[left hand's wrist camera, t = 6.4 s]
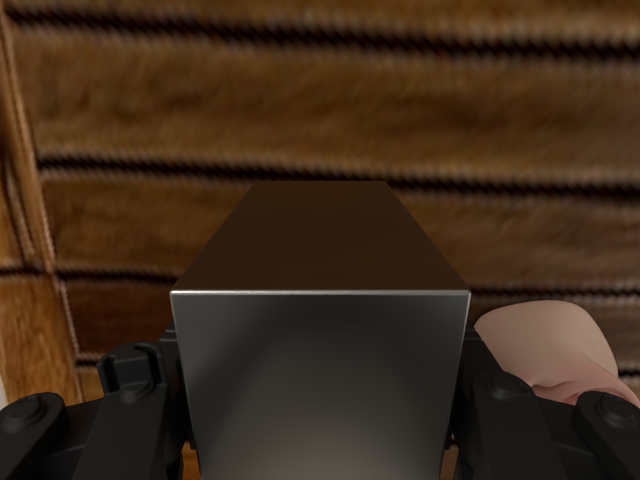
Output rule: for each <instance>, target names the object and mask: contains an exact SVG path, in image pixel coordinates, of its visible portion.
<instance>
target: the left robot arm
mask: <svg viewBox="0 0 640 480" xmlns="http://www.w3.org/2000/svg"><path fill="white" fill-rule="evenodd" d="M96 366H97V370H98V374H99V377H100V381H101V384H102V388H103V392H104V397H103V398H100V399H96V400H93V401H89V402H84V403H80V404H76V405H71V406H67V407H66V406H65V403H64V400H63V398H62V397H61V396H60V395H58V394H57V393H51V392H43V393H36V394H32V395H29V396H26V397H24V398H21V399H19V400H17V401H15V402H13V403H11V404H9V405H8V406H6V407H4V408H3V409H2V410H1V411H0V480H182V477H183V467H184V464H183V457H182V452H181V451H182V448H183V446H184V443H185V441H186V438H187V435H188V436H189V442H190V447H191V450H196V447H195V441H194V435H193V429H192V423H191V418H190V412H189V406H188V400H187V394H186V388H185V383H184V377H183V371H182V365H181V359H180V353H179V347H178V342H177V336H176V330H175V324H174V319H172V321H171V322H170V324H169V325H168V327H167V328H166V330H165V332H164V333H163V334H162V336H161V337H160V339H159V342H157V343H153V342H149V341H136V342H132V343H127V344H124V345H121V346H119V347H117V348H115V349H112V350H111V351H110V352H108V353H107V354H105V355H104V356H103V357H102V358H101V359H100V360H99V362H98V363H97V364H96ZM452 433H453V436H454V438H455V441H456V443H457V446H458V448H459V452H458V457H457V462H456V467H455V473H454V478H453V480H640V408H639V407H637V406H636V405H634V404H633V403H631V402H629V401H627V400H625V399H623V398H621V397H619V396H616V395H613V394H610V393H607V392H601V391H594V390H593V391H587V392H583V393H582V394H581V395H579V396H578V398H577V401H576V404H575V405H571V404H567V403H563V402H558V401H554V400H550V399H546V398H542V397H539V396H536V394H535V393H534V391H533V390H532V388H531V387H530V386H529V385H528V384H527V383H526V382H525V381H523V380H522V379H521V378H519V377H517V376H515V375H513V374H511V373H509V372H505V371H503V369H502V368H501V366H500V365H499V363H498V362H497V360H496V359H495V357H494V356H493V354H492V353H491V352H490V350H489V349H488V347H487V346H486V344H485V343H484V341H483V340H481V337H480V335H479V334H478V332H477V331H475V328H474V326H473V325H472V323H471V322H470V320H469V319H468V318H467V321H466V327H465V333H464V338H463V344H462V350H461V356H460V362H459V368H458V373H457V379H456V385H455V391H454V397H453V402H452V408H451V414H450V420H449V426H448V432H447V437H446V443H445V449H444V450H449V449H450V443H451V437H452Z"/></svg>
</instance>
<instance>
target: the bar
mask: <svg viewBox="0 0 640 480" xmlns="http://www.w3.org/2000/svg"><path fill="white" fill-rule="evenodd" d="M169 295H170V301H171V307H172V312H173V318H174V324H175V330H176V336H177V342H178V347H179V353H180V359H181V365H182V371H183V377H184V383H185V388H186V394H187V400H188V406H189V412H190V418H191V423H192V429H193V435H194V441H195V447H196V453H197V458H198V464H199V470H200V476H201V480H439V478H440V472H441V466H442V461H443V455H444V449H445V443H446V437H447V432H448V426H449V420H450V414H451V408H452V402H453V397H454V391H455V385H456V379H457V373H458V368H459V362H460V356H461V350H462V344H463V338H464V333H465V327H466V321H467V315H468V309H469V304H470V298H471V291H470V289H469V288H468V286H467V285H466V284H465V283H464V281H463V280H462V279H461V277H460V276H459V275H458V274H457V272H456V271H455V270H454V269H453V267H452V266H451V265H450V263H449V262H448V261H447V260H446V258H445V257H444V256H443V255H442V253H441V252H440V251H439V249H438V248H437V247H436V246H435V244H434V243H433V242H432V241H431V239H430V238H429V237H428V235H427V234H426V233H425V232H424V230H423V229H422V228H421V226H420V225H419V224H418V223H417V221H416V220H415V219H414V218H413V216H412V215H411V214H410V212H409V211H408V210H407V209H406V207H405V206H404V205H403V204H402V202H401V201H400V200H399V198H398V197H397V196H396V195H395V193H394V192H393V191H392V189H391V188H390V187H389V186H388V184H387V183H386V182H385V181H255V182H254V183H253V185H252V186H251V187H250V189H249V190H248V191H247V192H246V194H245V195H244V196H243V197H242V199H241V200H240V201H239V203H238V204H237V205H236V206H235V208H234V209H233V210H232V212H231V213H230V214H229V215H228V217H227V218H226V219H225V220H224V222H223V223H222V224H221V226H220V227H219V228H218V229H217V231H216V232H215V233H214V235H213V236H212V237H211V238H210V240H209V241H208V242H207V244H206V245H205V246H204V247H203V249H202V250H201V251H200V252H199V254H198V255H197V256H196V258H195V259H194V260H193V261H192V263H191V264H190V265H189V267H188V268H187V269H186V270H185V272H184V273H183V274H182V275H181V277H180V278H179V279H178V281H177V282H176V283H175V284H174V286H173V287H172V288H171V290H170V293H169Z"/></svg>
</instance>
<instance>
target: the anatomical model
mask: <svg viewBox="0 0 640 480" xmlns="http://www.w3.org/2000/svg"><path fill="white" fill-rule="evenodd" d="M474 328H475V331H477V332H478V334H479V335H480V337H481V340H483V341H484V343H485V344H486V346H487V347H488V349H489V350H490V352H491V353H492V354H493V356H494V357H495V359H496V360H497V362H498V363H499V365H500V366H501V368H502V369H503V371H505V372H509V373H511V374H513V375H515V376H517V377H519V378H521V379H522V380H523V381H525V382H526V383H527V384H528V385H529V386H530V387H531V388H532V390H533V391H534V393H535V394H536V396H539V397H542V398H546V399H550V400H554V401H558V402H563V403H567V404H571V405H575V404H576V401H577V398H578V396H579V395H581V394H582V393H583V392H587V391H593V390H594V391H601V392H607V393H610V394H613V395H616V396H619V397H621V398H623V399H625V400H627V401H629V402H631V403H633V404H634V405H636V406H637V407H639V408H640V401H639V399H638V398H637V397H636V395H635V394H634V393H633V392H632V391H631V390H630V389H629V388H628V387H627V386H626V385H625V384H624V383H623V382H622V381H621V380H619V379H618V370H617V365H616V362H615V359H614V356H613V354H612V351H611V349H610V347H609V345H608V343H607V341H606V339H605V337H604V336H603V334H602V332H601V330H600V329H599V327H598V326H597V324H596V323H595V321H594V320H593V319H592V318H591V316H590V315H589V314H588V313H587V312H586V311H585V310H584V309H582V308H581V307H579V306H578V305H575V304H573V303H570V302H566V301H558V300H541V301H531V302H524V303H518V304H514V305H509V306H505V307H501V308H498V309H494V310H492V311H490V312H488V313H486V314H484V315H483V316H481V317H480V318H479V319H478V321H477V322H476V324H475V325H474Z"/></svg>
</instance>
